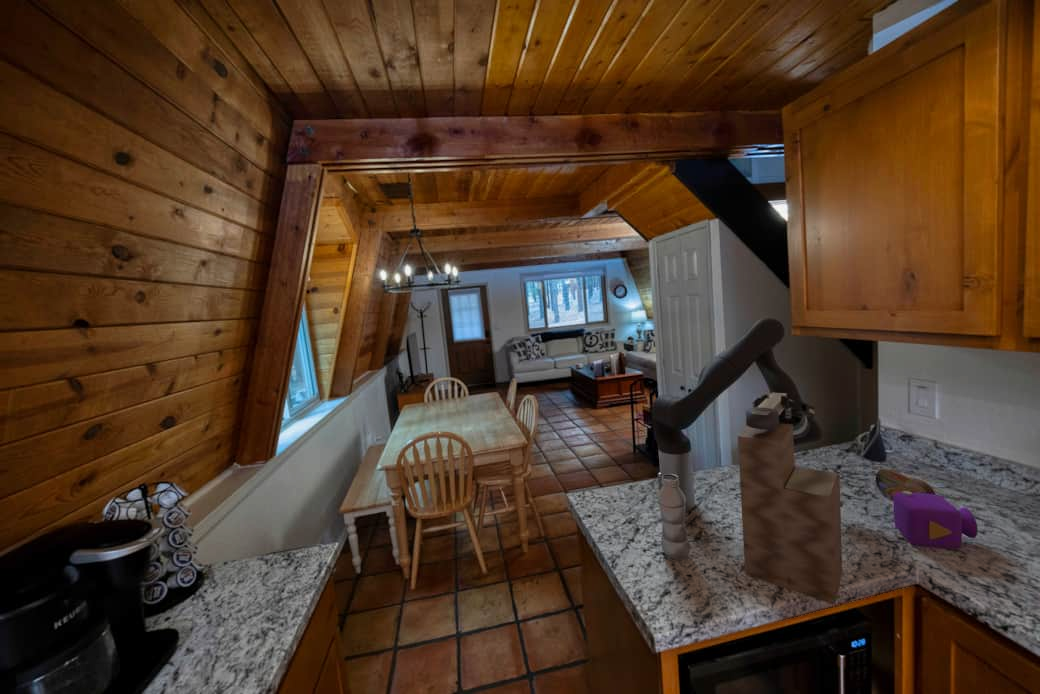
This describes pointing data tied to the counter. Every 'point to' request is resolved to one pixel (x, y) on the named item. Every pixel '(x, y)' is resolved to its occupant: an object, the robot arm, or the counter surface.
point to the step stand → (789, 516)
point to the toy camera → (932, 520)
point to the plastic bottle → (673, 518)
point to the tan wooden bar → (766, 413)
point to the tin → (900, 483)
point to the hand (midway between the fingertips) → (773, 399)
